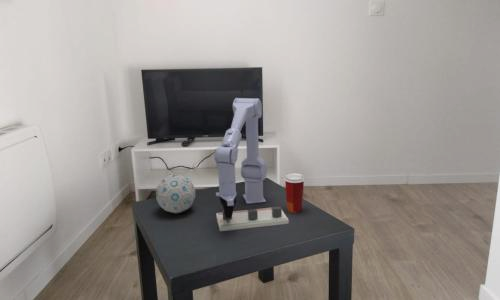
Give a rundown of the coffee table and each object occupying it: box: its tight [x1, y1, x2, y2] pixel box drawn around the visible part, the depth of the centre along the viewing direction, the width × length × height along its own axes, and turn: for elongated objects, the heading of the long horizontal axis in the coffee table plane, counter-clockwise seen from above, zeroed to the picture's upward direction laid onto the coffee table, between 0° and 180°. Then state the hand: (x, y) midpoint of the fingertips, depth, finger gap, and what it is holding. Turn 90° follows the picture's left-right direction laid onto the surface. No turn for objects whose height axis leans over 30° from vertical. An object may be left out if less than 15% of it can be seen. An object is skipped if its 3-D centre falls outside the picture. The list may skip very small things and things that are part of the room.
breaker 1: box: [221, 209, 232, 220], centre depth 137 cm, size 2×3×3 cm, turn 101°
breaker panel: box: [215, 207, 290, 232], centre depth 139 cm, size 12×25×2 cm, turn 101°
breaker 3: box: [271, 206, 283, 217], centre depth 138 cm, size 2×3×3 cm, turn 101°
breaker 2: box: [247, 208, 258, 220], centre depth 136 cm, size 2×3×3 cm, turn 101°
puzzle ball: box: [155, 173, 196, 214], centre depth 147 cm, size 15×15×15 cm
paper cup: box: [283, 172, 306, 214], centre depth 146 cm, size 8×8×14 cm
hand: (228, 217), depth 132 cm, fingers closed
